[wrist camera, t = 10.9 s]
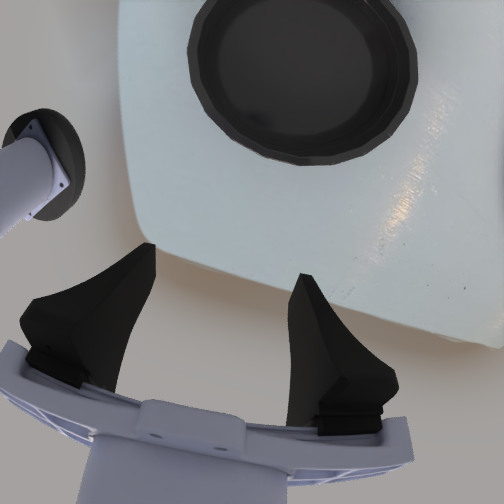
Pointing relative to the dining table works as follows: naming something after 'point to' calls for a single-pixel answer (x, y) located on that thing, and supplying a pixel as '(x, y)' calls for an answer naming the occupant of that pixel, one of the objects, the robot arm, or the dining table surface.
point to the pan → (304, 75)
